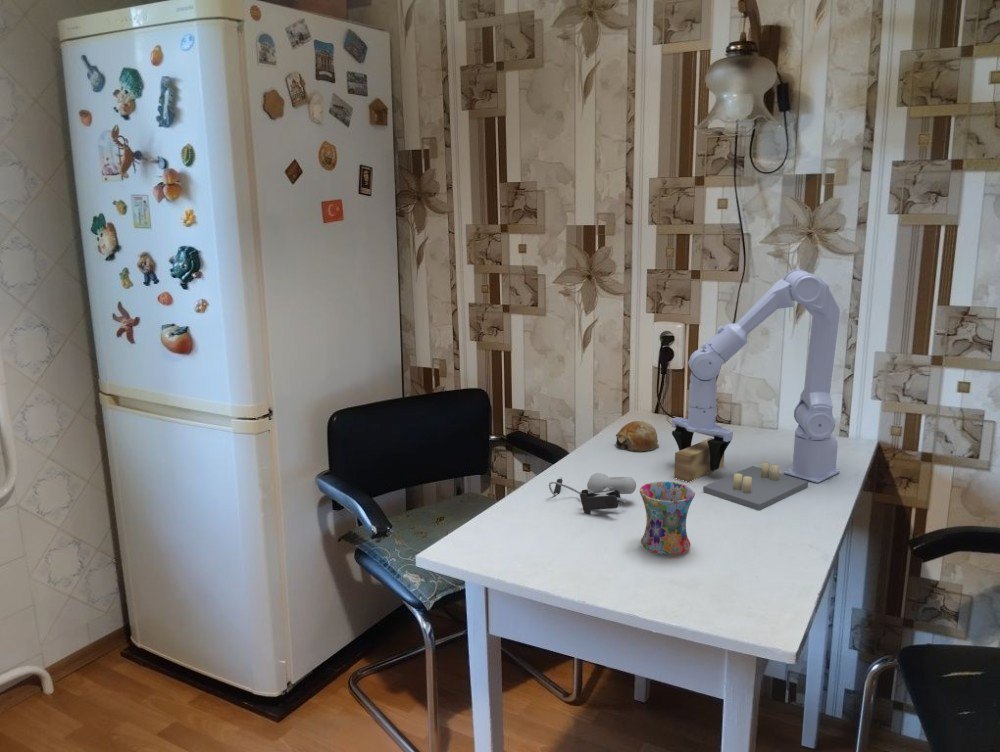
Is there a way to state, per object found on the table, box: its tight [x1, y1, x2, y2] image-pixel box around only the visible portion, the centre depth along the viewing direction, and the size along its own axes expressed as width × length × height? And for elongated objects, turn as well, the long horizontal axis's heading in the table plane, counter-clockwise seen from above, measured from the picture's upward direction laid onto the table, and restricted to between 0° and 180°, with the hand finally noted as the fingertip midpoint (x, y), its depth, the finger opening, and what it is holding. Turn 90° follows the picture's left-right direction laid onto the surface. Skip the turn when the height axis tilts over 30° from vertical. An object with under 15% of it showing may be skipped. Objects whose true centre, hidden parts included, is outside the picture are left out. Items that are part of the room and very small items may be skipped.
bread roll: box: [615, 420, 660, 452], centre depth 193 cm, size 10×10×8 cm
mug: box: [639, 480, 696, 556], centre depth 139 cm, size 12×9×11 cm
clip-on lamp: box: [548, 472, 637, 515], centre depth 160 cm, size 12×6×18 cm
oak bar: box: [673, 437, 725, 483], centre depth 174 cm, size 14×4×6 cm, turn 134°
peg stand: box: [702, 461, 809, 511], centre depth 164 cm, size 18×13×4 cm
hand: (699, 465), depth 175 cm, fingers open, 7 cm apart
